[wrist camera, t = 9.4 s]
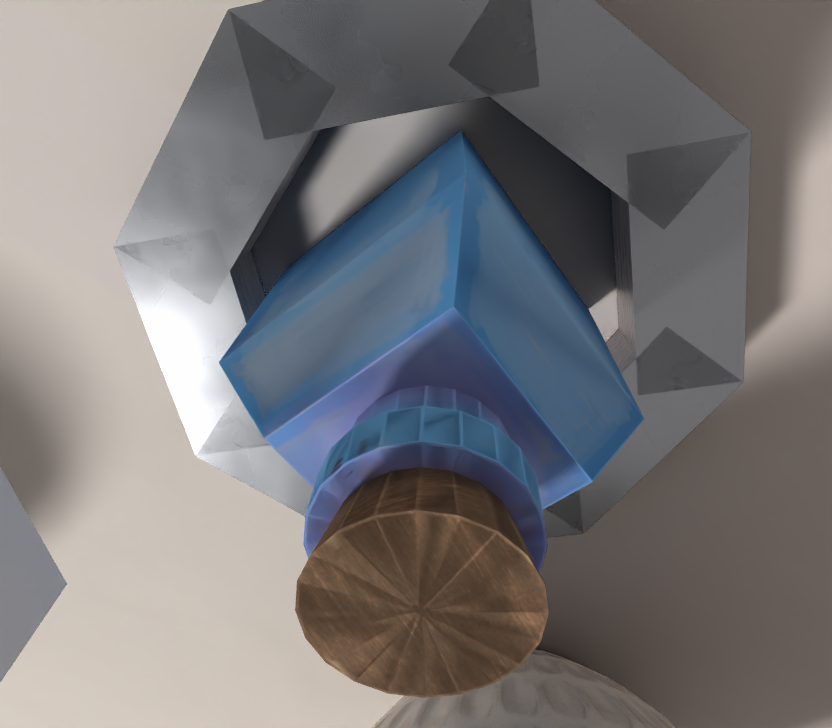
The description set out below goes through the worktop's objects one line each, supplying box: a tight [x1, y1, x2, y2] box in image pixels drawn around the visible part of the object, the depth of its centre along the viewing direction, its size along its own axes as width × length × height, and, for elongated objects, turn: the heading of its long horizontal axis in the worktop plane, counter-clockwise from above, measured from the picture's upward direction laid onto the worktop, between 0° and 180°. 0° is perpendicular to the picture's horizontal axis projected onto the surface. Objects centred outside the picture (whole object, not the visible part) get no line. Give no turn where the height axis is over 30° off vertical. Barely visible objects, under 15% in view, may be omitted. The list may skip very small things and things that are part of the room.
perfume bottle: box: [219, 130, 644, 698], centre depth 14 cm, size 6×6×12 cm
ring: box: [114, 0, 751, 538], centre depth 18 cm, size 16×16×3 cm
